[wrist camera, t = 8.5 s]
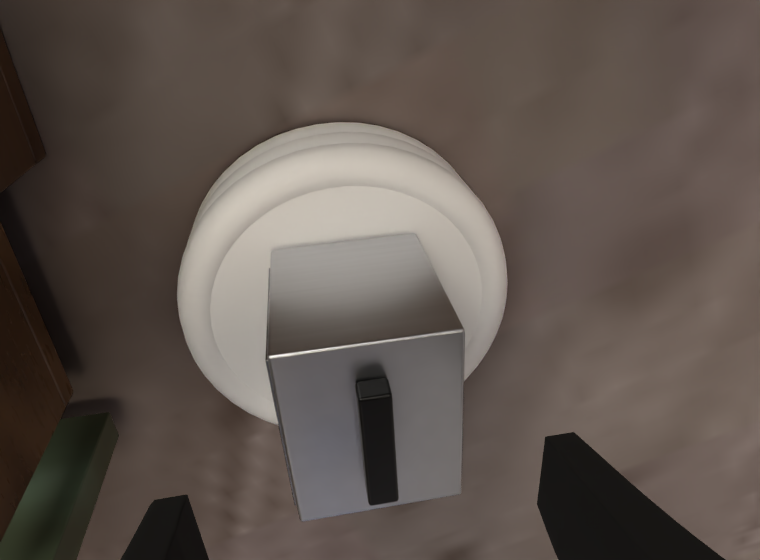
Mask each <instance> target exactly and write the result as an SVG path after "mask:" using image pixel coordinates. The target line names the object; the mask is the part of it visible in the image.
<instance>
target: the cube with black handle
mask: <svg viewBox="0 0 760 560" xmlns="http://www.w3.org/2000/svg"><path fill="white" fill-rule="evenodd" d="M464 354H465V330H464V328H463V326H462V324H461V322H460V320H459V318H458V316H457V314H456V312H455V310H454V308H453V306H452V304H451V302H450V300H449V298H448V296H447V294H446V292H445V290H444V288H443V286H442V284H441V282H440V280H439V278H438V276H437V274H436V272H435V271H434V269H433V267H432V265H431V263H430V261H429V259H428V257H427V255H426V253H425V251H424V249H423V247H422V245H421V243H420V241H419V239H418V237H417V235H416V234H415V233H411V234H403V235H394V236H386V237H378V238H369V239H361V240H353V241H345V242H336V243H328V244H320V245H311V246H303V247H295V248H287V249H278V250H272V251H271V261H270V268H269V278H268V304H267V330H266V357H265V361H266V366H267V371H268V376H269V381H270V386H271V391H272V396H273V401H274V406H275V411H276V416H277V420H278V425H279V430H280V435H281V440H282V445H283V450H284V455H285V460H286V465H287V470H288V475H289V480H290V485H291V490H292V495H293V499H294V504H295V505H297V509H298V514H299V519H300V520H301V521H309V520H315V519H321V518H326V517H332V516H338V515H344V514H350V513H355V512H361V511H367V510H373V509H379V508H384V507H390V506H396V505H402V504H408V503H414V502H419V501H425V500H431V499H437V498H443V497H448V496H454V495H459V494H461V485H462V452H463V403H464Z"/></svg>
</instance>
